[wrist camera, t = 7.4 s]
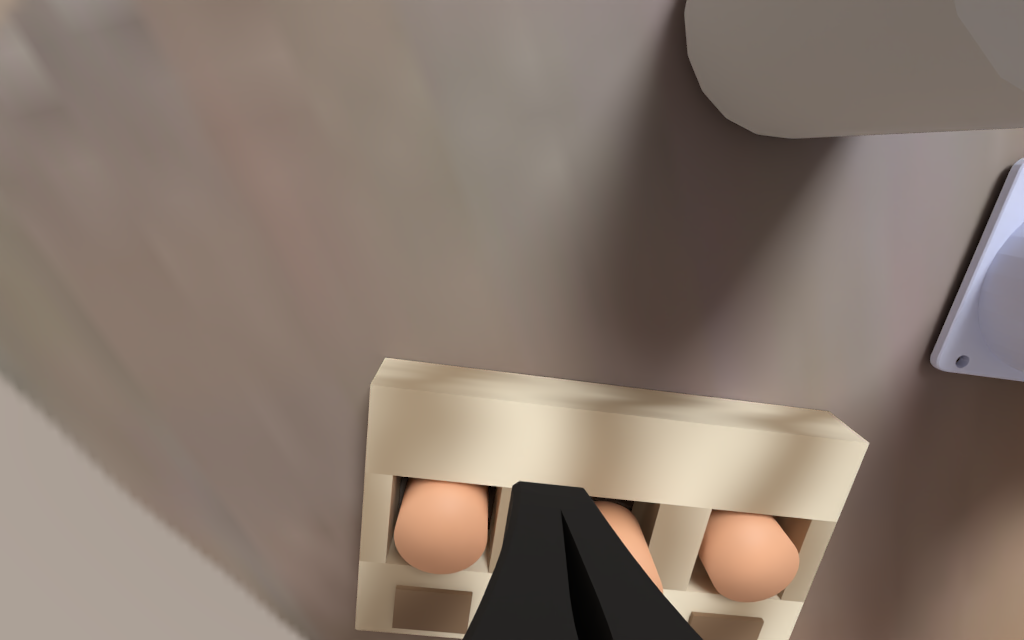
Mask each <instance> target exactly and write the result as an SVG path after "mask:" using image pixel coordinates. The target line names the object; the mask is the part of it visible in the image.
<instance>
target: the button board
mask: <svg viewBox="0 0 1024 640" xmlns="http://www.w3.org/2000/svg"><path fill="white" fill-rule="evenodd" d="M868 446H869V442H867V441H866V440H865V439H864V438H862V437H861V436H860V435H858V434H857V433H856V432H855V431H853V430H852V429H851V428H849V427H848V426H847V425H846V424H844V423H843V422H842V421H840V420H839V419H838V418H837V417H835V416H834V415H833V414H832V413H830V412H829V411H822V410H814V409H805V408H797V407H789V406H781V405H772V404H764V403H756V402H747V401H739V400H731V399H723V398H714V397H706V396H698V395H690V394H681V393H673V392H665V391H656V390H648V389H640V388H632V387H623V386H615V385H607V384H599V383H590V382H582V381H574V380H565V379H557V378H549V377H541V376H532V375H524V374H516V373H508V372H499V371H491V370H483V369H474V368H466V367H458V366H450V365H441V364H433V363H425V362H417V361H408V360H400V359H392V358H385V359H384V361H383V363H382V365H381V366H380V368H379V370H378V372H377V374H376V376H375V377H374V379H373V381H372V383H371V385H370V399H369V415H368V431H367V447H366V463H365V478H364V494H363V510H362V526H361V541H360V557H359V573H358V589H357V604H356V620H355V630H364V631H376V632H388V633H400V634H412V635H424V636H436V637H448V638H460V639H463V637H464V635H465V633H466V631H467V629H468V627H469V625H470V623H471V621H472V619H473V617H474V615H475V613H476V611H477V609H478V606H479V604H480V602H481V600H482V597H483V595H484V592H485V590H486V588H487V585H488V583H489V580H490V578H491V576H492V573H493V571H494V568H495V566H496V563H497V560H498V558H499V555H500V551H501V548H502V544H503V538H504V532H505V526H506V520H507V514H508V508H509V502H510V496H511V491H512V485H514V484H515V483H517V482H519V481H525V482H534V483H543V484H553V485H562V486H572V487H581V488H584V489H585V490H586V492H587V493H588V495H589V496H594V497H603V498H613V499H622V500H632V501H634V504H633V508H632V512H631V513H632V514H633V515H634V516H635V517H636V519H637V520H638V523H639V525H640V527H641V530H642V533H643V535H644V538H645V541H646V543H647V546H648V548H649V551H650V554H651V556H652V559H653V562H654V564H655V567H656V569H657V572H658V575H659V577H660V580H661V583H662V586H663V595H664V596H665V597H666V598H667V599H668V600H669V602H670V603H671V604H672V605H673V606H674V607H675V608H676V610H677V611H678V612H679V613H680V614H681V615H682V617H683V618H684V619H685V620H686V621H687V622H688V623H689V625H690V626H691V627H692V628H693V629H694V630H695V631H696V632H697V633H698V634H699V636H700V637H701V638H702V639H703V640H789V637H790V635H791V633H792V630H793V628H794V625H795V623H796V620H797V618H798V616H799V613H800V611H801V608H802V606H803V603H804V601H805V599H806V596H807V594H808V591H809V589H810V586H811V584H812V582H813V579H814V577H815V574H816V572H817V569H818V567H819V565H820V562H821V560H822V557H823V555H824V552H825V550H826V548H827V545H828V543H829V540H830V538H831V535H832V533H833V531H834V528H835V526H836V523H837V521H838V518H839V516H840V514H841V511H842V509H843V506H844V504H845V501H846V499H847V497H848V494H849V492H850V489H851V487H852V484H853V482H854V480H855V477H856V475H857V472H858V470H859V467H860V465H861V463H862V460H863V458H864V455H865V453H866V450H867V448H868ZM401 476H403V477H413V478H422V479H432V480H441V481H451V482H460V483H470V484H479V485H489V486H496V491H495V497H494V504H493V510H492V516H491V523H490V529H489V530H488V533H487V544H486V548H485V550H484V552H483V554H482V555H481V557H480V558H479V559H478V560H477V561H476V562H475V563H474V564H473V565H471V566H470V567H468V568H466V569H464V570H462V571H459V572H456V573H451V574H432V573H427V572H424V571H421V570H419V569H417V568H415V567H413V566H412V565H410V564H409V563H408V562H406V561H405V560H404V559H403V558H402V556H401V555H400V554H399V552H398V550H397V548H396V545H395V541H394V530H395V526H396V522H397V516H398V505H399V494H400V483H401ZM712 509H718V510H727V511H737V512H746V513H756V514H765V515H772V516H773V518H774V519H775V520H776V522H777V523H778V524H779V525H780V527H781V528H782V529H783V531H784V532H785V533H786V535H787V536H788V537H789V539H790V540H791V541H792V543H793V544H794V545H795V547H796V549H797V551H798V554H799V568H798V571H797V573H796V575H795V577H794V579H793V580H792V582H791V583H790V584H789V585H788V586H787V587H786V588H785V589H784V590H782V591H781V592H780V593H778V594H776V595H775V596H773V597H770V598H768V599H765V600H762V601H757V602H737V601H734V600H731V599H728V598H726V597H724V596H723V595H721V594H720V593H719V592H718V591H717V590H716V588H715V587H714V585H713V583H712V581H711V579H710V577H709V575H708V573H707V571H706V569H705V567H704V565H703V563H702V561H701V559H700V557H699V555H698V552H699V549H700V545H701V542H702V539H703V536H704V533H705V530H706V526H707V523H708V520H709V517H710V514H711V511H712Z"/></svg>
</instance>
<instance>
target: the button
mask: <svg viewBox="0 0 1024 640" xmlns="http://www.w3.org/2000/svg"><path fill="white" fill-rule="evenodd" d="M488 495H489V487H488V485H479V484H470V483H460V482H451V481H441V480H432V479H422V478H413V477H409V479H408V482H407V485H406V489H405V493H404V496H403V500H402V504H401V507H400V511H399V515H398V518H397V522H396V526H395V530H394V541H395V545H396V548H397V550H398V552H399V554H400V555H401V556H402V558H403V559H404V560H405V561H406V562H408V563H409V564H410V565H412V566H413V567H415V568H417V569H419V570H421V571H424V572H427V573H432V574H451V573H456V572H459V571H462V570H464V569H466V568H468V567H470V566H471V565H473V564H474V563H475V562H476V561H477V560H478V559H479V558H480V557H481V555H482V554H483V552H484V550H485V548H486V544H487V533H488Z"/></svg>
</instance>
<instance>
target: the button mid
mask: <svg viewBox="0 0 1024 640" xmlns="http://www.w3.org/2000/svg"><path fill="white" fill-rule="evenodd" d="M594 503H595V504H596V506H597V507H598V509H599V510H600V511H601V513H602V514H603V516H604V517H605V518H606V520H607V521H608V523H609V524H610V525H611V527H612V528H613V530H614V531H615V532H616V534H617V535H618V537H619V538H620V539H621V541H622V542H623V543H624V545H625V546H626V547H627V549H628V550H629V551H630V553H631V554H632V555H633V557H634V558H635V559H636V561H637V562H638V563H639V564H640V566H641V567H642V568H643V570H644V571H645V572H646V573H647V575H648V576H649V577H650V579H651V580H652V581H653V582H654V584H655V585H656V586H657V587H658V589H659V590H660V591H661V592H662V593H663V586H662V583H661V580H660V577H659V575H658V572H657V569H656V567H655V564H654V562H653V559H652V556H651V554H650V551H649V548H648V546H647V543H646V541H645V538H644V535H643V533H642V530H641V527H640V525H639V523H638V520H637V519H636V517H635V516H634V515H633V514H632V513H631V512H630V511H629V510H628V509H627V508H625V507H623V506H621V505H619V504H616V503H613V502H607V501H594Z"/></svg>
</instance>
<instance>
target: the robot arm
mask: <svg viewBox="0 0 1024 640" xmlns="http://www.w3.org/2000/svg"><path fill="white" fill-rule="evenodd" d="M959 357H960V359H959V361H958V362H956V360H957V359H958V358H959ZM930 362H931V364H932V365H933V367H935V368H937V369H939V370H942V371H945V372H953V373H961V374H968V375H976V376H984V377H992V378H1000V379H1007V380H1015V381H1023V382H1024V158H1022V159H1020V160H1018V161H1017V162H1016V163H1015V164H1014V165H1013V166H1012V168H1011V170H1010V172H1009V174H1008V176H1007V179H1006V181H1005V183H1004V186H1003V188H1002V190H1001V193H1000V195H999V197H998V200H997V202H996V204H995V207H994V209H993V211H992V214H991V216H990V218H989V221H988V223H987V225H986V228H985V230H984V232H983V235H982V237H981V239H980V242H979V244H978V246H977V249H976V251H975V253H974V256H973V258H972V260H971V263H970V265H969V267H968V270H967V272H966V274H965V277H964V279H963V281H962V284H961V286H960V288H959V291H958V293H957V295H956V298H955V300H954V302H953V305H952V307H951V310H950V312H949V314H948V317H947V319H946V321H945V324H944V326H943V328H942V331H941V333H940V335H939V338H938V340H937V342H936V345H935V347H934V349H933V352H932V354H931V357H930ZM462 640H703V639H702V638H701V637H700V636H699V634H698V633H697V632H696V631H695V630H694V629H693V628H692V627H691V626H690V625H689V623H688V622H687V621H686V620H685V619H684V618H683V617H682V615H681V614H680V613H679V612H678V611H677V610H676V608H675V607H674V606H673V605H672V604H671V603H670V602H669V600H668V599H667V598H666V597H665V596H664V595H663V593H662V592H661V591H660V590H659V589H658V587H657V586H656V585H655V584H654V582H653V581H652V580H651V579H650V577H649V576H648V575H647V573H646V572H645V571H644V570H643V568H642V567H641V566H640V564H639V563H638V562H637V561H636V559H635V558H634V557H633V555H632V554H631V553H630V551H629V550H628V549H627V547H626V546H625V545H624V543H623V542H622V541H621V539H620V538H619V537H618V535H617V534H616V532H615V531H614V530H613V528H612V527H611V525H610V524H609V523H608V521H607V520H606V518H605V517H604V516H603V514H602V513H601V511H600V510H599V509H598V507H597V506H596V504H595V503H594V501H593V500H592V499H591V497H590V496H589V495H588V493H587V492H586V490H585V489H584V488H581V487H572V486H562V485H553V484H543V483H534V482H525V481H519V482H517V483H515V484H514V485H512V491H511V496H510V502H509V508H508V514H507V520H506V526H505V532H504V538H503V544H502V548H501V551H500V555H499V558H498V560H497V563H496V566H495V568H494V571H493V573H492V576H491V578H490V580H489V583H488V585H487V588H486V590H485V592H484V595H483V597H482V600H481V602H480V604H479V606H478V609H477V611H476V613H475V615H474V617H473V619H472V621H471V623H470V625H469V627H468V629H467V631H466V633H465V635H464V637H463V639H462Z"/></svg>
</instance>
